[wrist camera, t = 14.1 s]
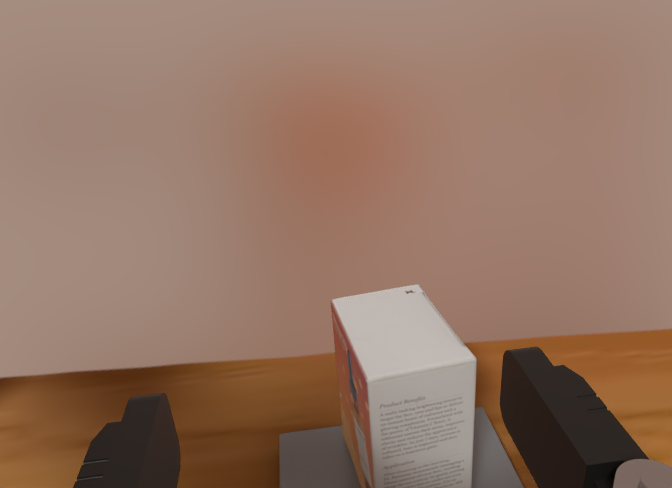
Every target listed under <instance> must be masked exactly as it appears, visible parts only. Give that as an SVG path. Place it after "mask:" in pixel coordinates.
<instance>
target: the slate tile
mask: <svg viewBox="0 0 672 488" xmlns="http://www.w3.org/2000/svg"><path fill="white" fill-rule="evenodd" d="M279 465H280V488H361V485H360V482H359V479H358V476H357V473H356V470H355V467H354V464H353V461H352V458H351V455H350V452H349V450H348V447H347V444H346V442H345V439H344V437H343V433H342V425H341V426H333V427H326V428H318V429H311V430H303V431H296V432H288V433H281V434H279ZM471 488H524V487H523V485H522V483H521V481H520V479H519V477H518V475H517V473H516V471H515V469H514V467H513V465H512V463H511V461H510V460H509V458H508V456H507V454H506V452H505V450H504V448H503V446H502V444H501V442H500V440H499V438H498V436H497V434H496V432H495V430H494V428H493V426H492V424H491V422H490V420H489V418H488V416H487V414H486V412H485V410H484V408H483V407H475V416H474V440H473V462H472V486H471Z"/></svg>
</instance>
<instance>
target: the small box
mask: <svg viewBox="0 0 672 488" xmlns="http://www.w3.org/2000/svg"><path fill="white" fill-rule="evenodd" d="M331 309H332V319H333V330H334V343H335V354H336V367H337V377H338V389H339V400H340V412H341V422H342V433H343V437H344V439H345V442H346V444H347V447H348V450H349V452H350V455H351V458H352V461H353V464H354V467H355V470H356V473H357V476H358V479H359V482H360V485H361V488H471V486H472V462H473V440H474V416H475V392H476V367H477V359H476V357H475V356H474V355H473V354H472V353H471V351H470V350H469V349H468V348H467V347H466V346H465V345H464V343H463V342H462V341H461V340H460V339H459V337H458V336H457V335H456V333H455V332H454V331H453V330H452V329H451V327H450V326H449V325H448V323H447V322H446V321H445V320H444V318H443V317H442V316H441V315H440V313H439V312H438V310H437V309H436V308H435V306H434V305H433V304H432V303H431V301H430V300H429V298H428V297H427V296H426V294H425V292H424V291H423V289H422V288H421V286H420V285H411V286H405V287H399V288H393V289H387V290H383V291H376V292H371V293H365V294H359V295H354V296H348V297H342V298H338V299H333V300H331Z"/></svg>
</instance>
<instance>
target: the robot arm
mask: <svg viewBox="0 0 672 488" xmlns="http://www.w3.org/2000/svg"><path fill="white" fill-rule="evenodd" d="M500 408H501V414H502V418H503V421H504V424H505V426H506V428H507V430H508V432H509V434H510V436H511V437H512V439H513V441H514V443H515V445H516V447H517V449H518V450H519V452H520V454H521V456H522V458H523V460H524V461H525V463H526V465H527V467H528V469H529V471H530V473H531V474H532V476H533V478H534V480H535V482H536V484H537V485H538V487H539V488H672V467H670V466H668V465H666V464H663V463H660V462H657V461H653V460H649V459H648V457H647V456H646V455H645V454H644V452H643V451H642V450H641V449H640V448H639V446H638V445H637V444H636V443H635V441H634V440H633V439H632V438H631V436H630V435H629V434H628V433H627V431H626V430H625V429H624V428H623V427H622V425H621V424H620V423H619V422H618V420H617V419H616V418H615V417H614V415H613V414H612V413H611V412H610V410H609V411H608V410H607V407H606V406H605V404H604V403H603V402H602V401H601V399H600V398H599V397H597V396H596V393H595V392H594V391H593V389H592V388H591V387H590V386H589V384H588V383H587V382H586V381H585V380H584V378H583V377H581V376H579V375H578V374H576V373H575V372H573V371H572V370H570V369H569V368H567V367H566V366H564V365H560V366H553V365H552V363H551V362H550V361H549V359H548V358H547V357H546V356H545V354H544V353H543V352H542V350H541V349H540V348H538V347H530V348H522V349H514V350H507V351H505V353H504V356H503V366H502V380H501V394H500ZM83 462H84V465H82V467H81V469H80V472H79V474H78V477H77V482H75V484H74V487H73V488H177V482H178V477H179V471H180V446H179V441H178V437H177V433H176V429H175V425H174V421H173V417H172V414H171V410H170V406H169V402H168V398H167V396H166V394H165V393H160V394H152V395H144V396H136V397H131V398H130V399H129V401H128V404H127V407H126V410H125V412H124V415H123V418H122V421H121V422H114V423H107V424H106V426H105V427H104V428H103V429H102V430H101V431H100V432H99V433H98V435H97V436H96V437H95V438H94V439H93V440H92V441H91V444H90V446H89V449H88V451H87V454H86V456H85V459H84V461H83Z"/></svg>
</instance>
